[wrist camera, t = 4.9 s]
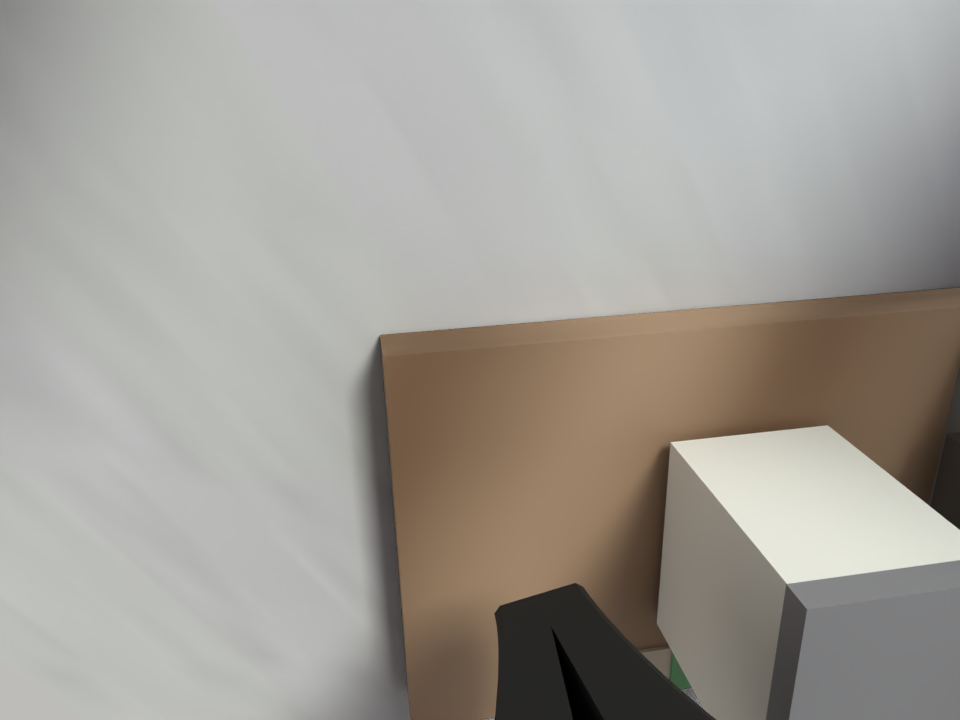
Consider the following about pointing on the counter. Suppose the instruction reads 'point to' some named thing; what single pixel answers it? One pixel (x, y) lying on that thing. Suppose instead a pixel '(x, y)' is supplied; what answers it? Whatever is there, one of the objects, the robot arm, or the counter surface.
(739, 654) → the block
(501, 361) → the frame
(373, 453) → the counter surface
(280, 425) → the counter surface
